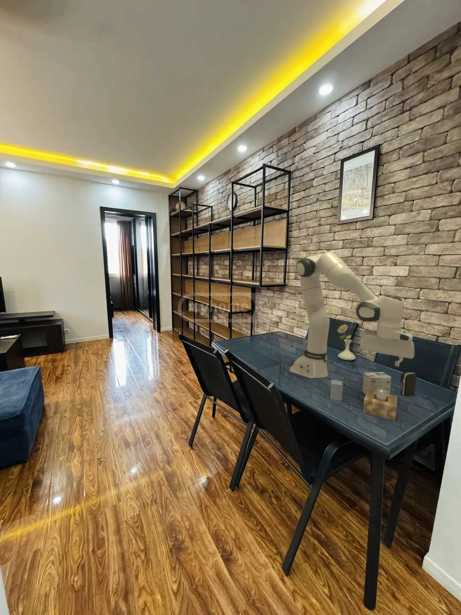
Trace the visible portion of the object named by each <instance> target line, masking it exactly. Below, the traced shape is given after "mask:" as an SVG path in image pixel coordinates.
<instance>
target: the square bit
mask: <svg viewBox="0 0 461 615" xmlns="http://www.w3.org/2000/svg"><path fill="white" fill-rule="evenodd" d="M343 385H344V384H343V381H342V380H337V379H330V388H329V389H330V392H329V397H330V399H329V400H334V401H340V402H342V400H343Z"/></svg>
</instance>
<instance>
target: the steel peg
mask: <svg viewBox="0 0 461 615" xmlns="http://www.w3.org/2000/svg"><path fill="white" fill-rule="evenodd" d="M386 396H387V390H386V389H385V388H381V387H378V388H377V390H376V399H378V400H382V401H386Z"/></svg>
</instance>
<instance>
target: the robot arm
mask: <svg viewBox="0 0 461 615" xmlns="http://www.w3.org/2000/svg"><path fill="white" fill-rule="evenodd" d="M295 270H296V272H297V275H298V276H299V281H300V282H299V283H300V289H301V293H302V298H303V301H304V302H303V303H304V306H305V309H306V310H305V311H306V314H307V319H308V320H307V321H308V333H307V334H308V335H307V347H306V348H305V349H304V350H303V355H301V356H300V357H298V358H297V359H296V360H294V363H293V365H291V366H290V368H289V372H290V373H293V374H297V375H299V376H302V377H306V378H308V379H312V380H313V379H317V378H318V379H323V378H326V377H328V376H329V371H328V368H327V360H328V351H327V349H328V348H327V347H328V346H327V345H328V337H329V331H330V330H329V329H330V318H329V317H330V316H329V315H328V314H327V310H326V304H325V298H324V293H323V290H322V284H321V281H320V276H321V275H324V277H325V278H326V279H327V281H328V282H329V283H330V284H332V285H333V286H334V287H336V288H339V289H344V290H347V291H349V292H352V293H354V294H355V295H356V296H357V297H358V298H359V299H360V300H361V302H360V303H359V304H357V306H356V309H355V315H356V316H357V319H359V320H361V321H362V322H366V323H370V322H372V323H373V322H375V323H376V330H369V329H364V330H362V331H361V332H360V338H361V341H360V344H359V348H360V350H361V351H365V352H366V351H367V355H368V356H369V358H370V359H369V361H370V362H374V361H375V357H374V356H373V353H377V354H378V353H379V354H383V355H389V356H394V357H398V360H395V362H394V367H400V363H401V362H403V360H404V358H406V359H413V358H414V357H415V344H414V341H413V339H414V338H413V334H412V333H410V332H407V331H405V330H402V323H401V322H402V319H403V317H404V316H403V315H404V300H403V299H402V297H400V296H397V295H392V294H383V295H381V296H378V294H376V293H375V292H374V291H373V290H372V289H371V288H370V287H369V286H368V285H367V284H366V283H364V281H362V280H361V278H359V277H358V276H357V275H356V273H354V272H353V270H351V268H350V267H349V266H348V265H347V264H346V263H345V261H343V259H342V258H340V257H339V255H337V254H336V253H334V252H332V251H327V252H322V253H317V254H312V255H311V256H310V255H309V256H307V257H303V258H301V259H299V260H298V261H297V262H296V266H295Z"/></svg>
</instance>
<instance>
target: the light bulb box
mask: <svg viewBox="0 0 461 615" xmlns="http://www.w3.org/2000/svg"><path fill="white" fill-rule="evenodd" d="M391 383H392V376H390V375H389V374H387V373H385V372H384V371H379V372H363V380H362V393H363V394H365V395H366V392H367V389H369V390H373V391H376V390H377V388H378V387H381V388H385V389H386V390H387V394H391Z"/></svg>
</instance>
